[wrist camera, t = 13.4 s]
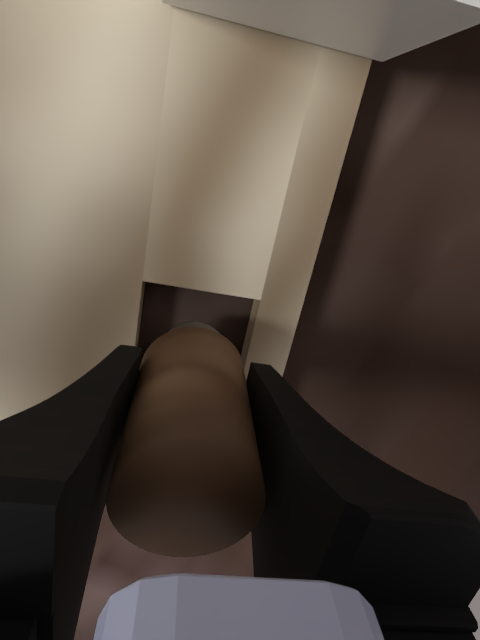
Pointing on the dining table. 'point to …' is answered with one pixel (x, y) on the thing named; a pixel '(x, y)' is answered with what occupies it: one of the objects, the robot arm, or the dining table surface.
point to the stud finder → (349, 21)
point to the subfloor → (156, 176)
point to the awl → (188, 449)
